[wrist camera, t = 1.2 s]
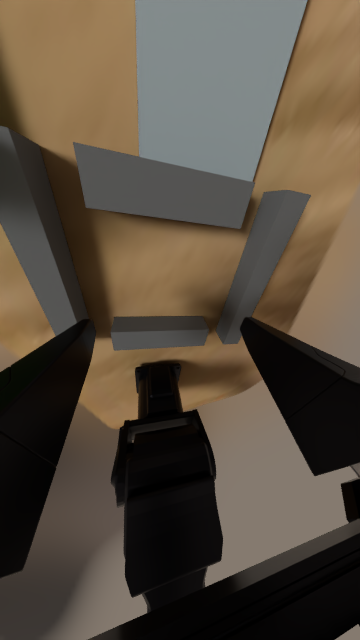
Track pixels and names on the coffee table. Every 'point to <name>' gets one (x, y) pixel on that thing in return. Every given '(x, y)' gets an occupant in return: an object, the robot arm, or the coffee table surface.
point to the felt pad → (211, 79)
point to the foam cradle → (148, 200)
